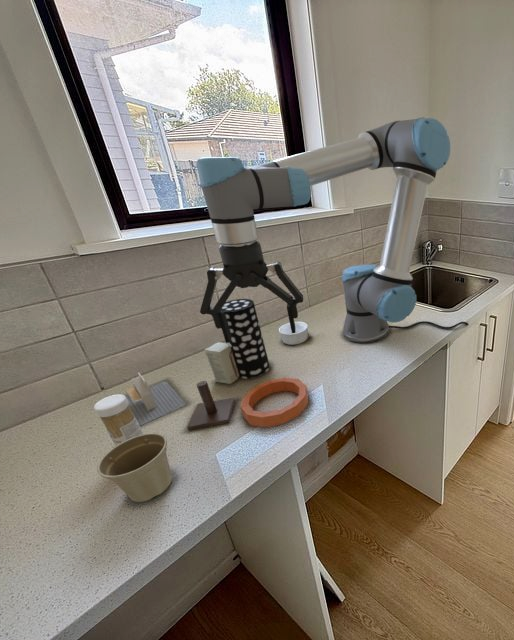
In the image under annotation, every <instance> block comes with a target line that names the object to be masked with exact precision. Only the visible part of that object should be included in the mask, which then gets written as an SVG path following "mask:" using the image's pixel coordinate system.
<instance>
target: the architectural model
mask: <svg viewBox="0 0 514 640" xmlns="http://www.w3.org/2000/svg"><path fill="white" fill-rule="evenodd" d="M137 375H138V376H135V375H134V377H133V378H131V381H132V383H133V384H132V387H129V388H126V389H125V391H126V393H127V394H128V395H127V396H125V397H126V399H127V400H128V402H129V407H130V409H131V411H132V413H133V415H134V416H135V418H136V420H137V422H138V424H139V426H140V427H141V426H143V425H146V424H148V423H149V422H152V421H154V420H155V419H159V418H161V417H162V416H163V417H164V416H165V415H167V414H169V413H171V412H174V411H175V410H178V409H180V408H182V407H185V406H187V404H186V403H185V401H184V400H183V399H182V398H181V397H180V395H178V394H177V392H176V391H175V390H174V389H173V387H172V386H171V385H170V384H169V383H168V382H167V380H165V381H162V382H159V383H157V384H155V385H152V386H150V387H149V385H148V382H147V381H146V380H145V378H144V377H143V376H142V374H141V373H140V372H137Z"/></svg>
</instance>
